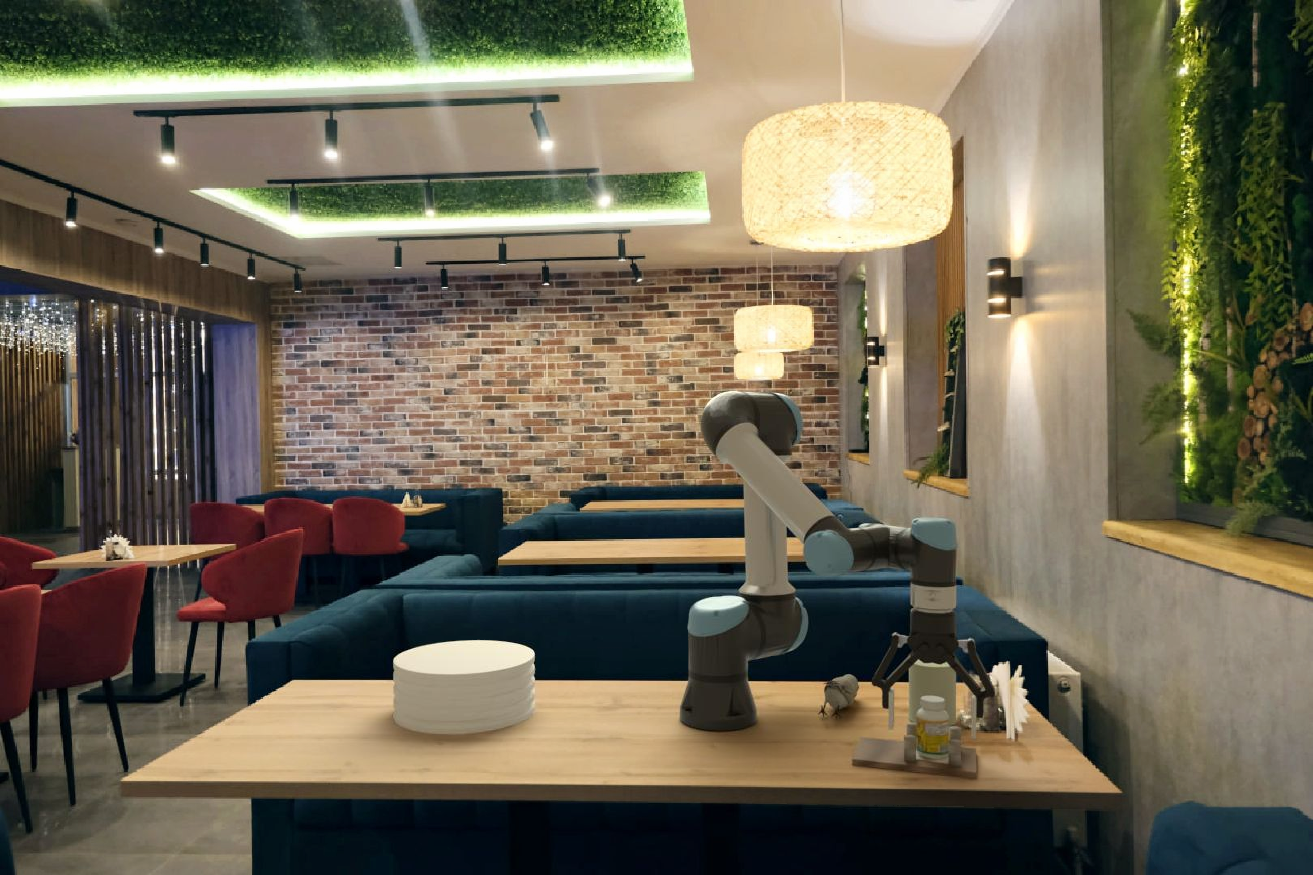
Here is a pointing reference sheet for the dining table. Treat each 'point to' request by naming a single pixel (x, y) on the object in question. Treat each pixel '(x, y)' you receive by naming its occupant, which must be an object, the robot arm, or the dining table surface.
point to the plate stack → (463, 686)
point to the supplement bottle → (932, 728)
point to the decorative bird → (840, 693)
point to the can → (932, 687)
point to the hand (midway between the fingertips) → (931, 731)
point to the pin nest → (916, 755)
